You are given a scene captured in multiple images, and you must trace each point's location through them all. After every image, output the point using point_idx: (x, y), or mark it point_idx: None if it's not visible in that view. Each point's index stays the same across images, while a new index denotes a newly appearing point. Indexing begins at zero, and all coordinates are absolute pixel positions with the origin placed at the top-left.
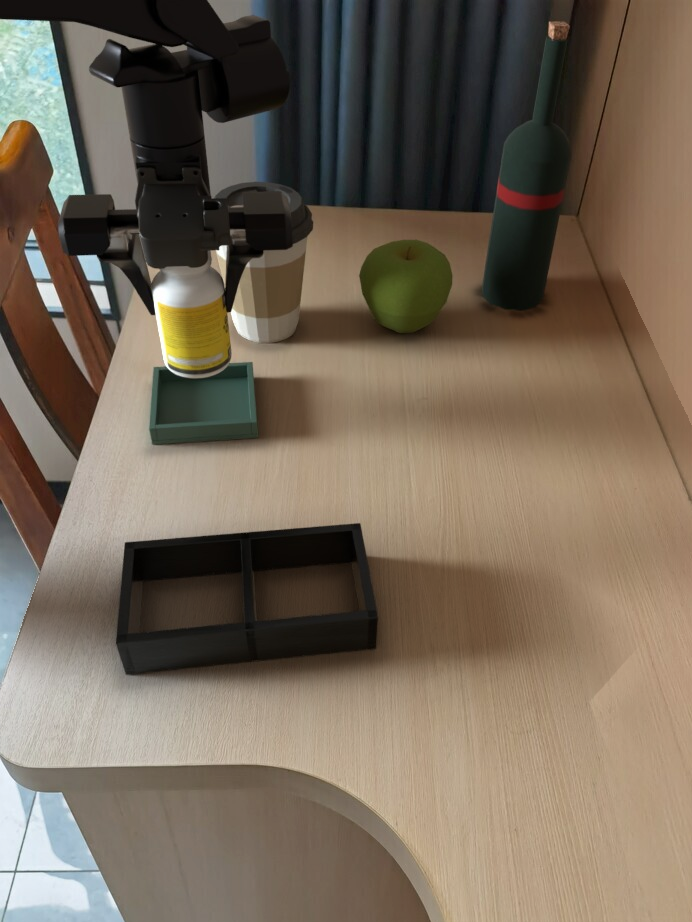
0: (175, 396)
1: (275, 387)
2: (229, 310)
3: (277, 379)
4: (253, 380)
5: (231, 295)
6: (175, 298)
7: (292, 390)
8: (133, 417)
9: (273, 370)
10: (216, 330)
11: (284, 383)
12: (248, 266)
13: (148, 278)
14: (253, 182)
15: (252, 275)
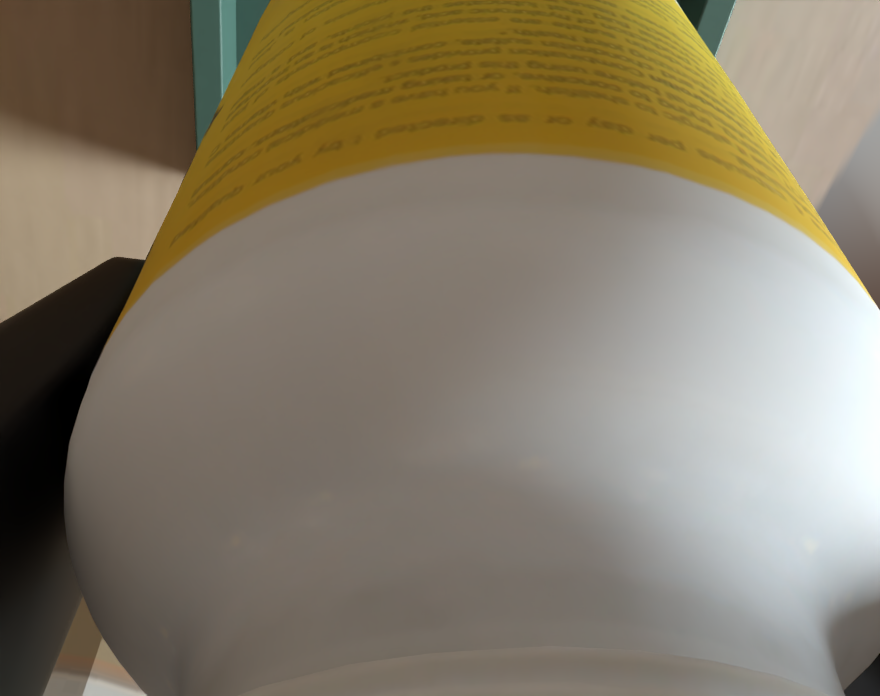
0: None
1: (117, 91)
2: (120, 263)
3: (110, 146)
4: (194, 84)
5: (6, 358)
6: (780, 303)
7: (32, 50)
8: (786, 24)
9: (130, 209)
10: (282, 51)
11: (75, 111)
12: (95, 682)
13: (875, 679)
14: None
15: (94, 632)
